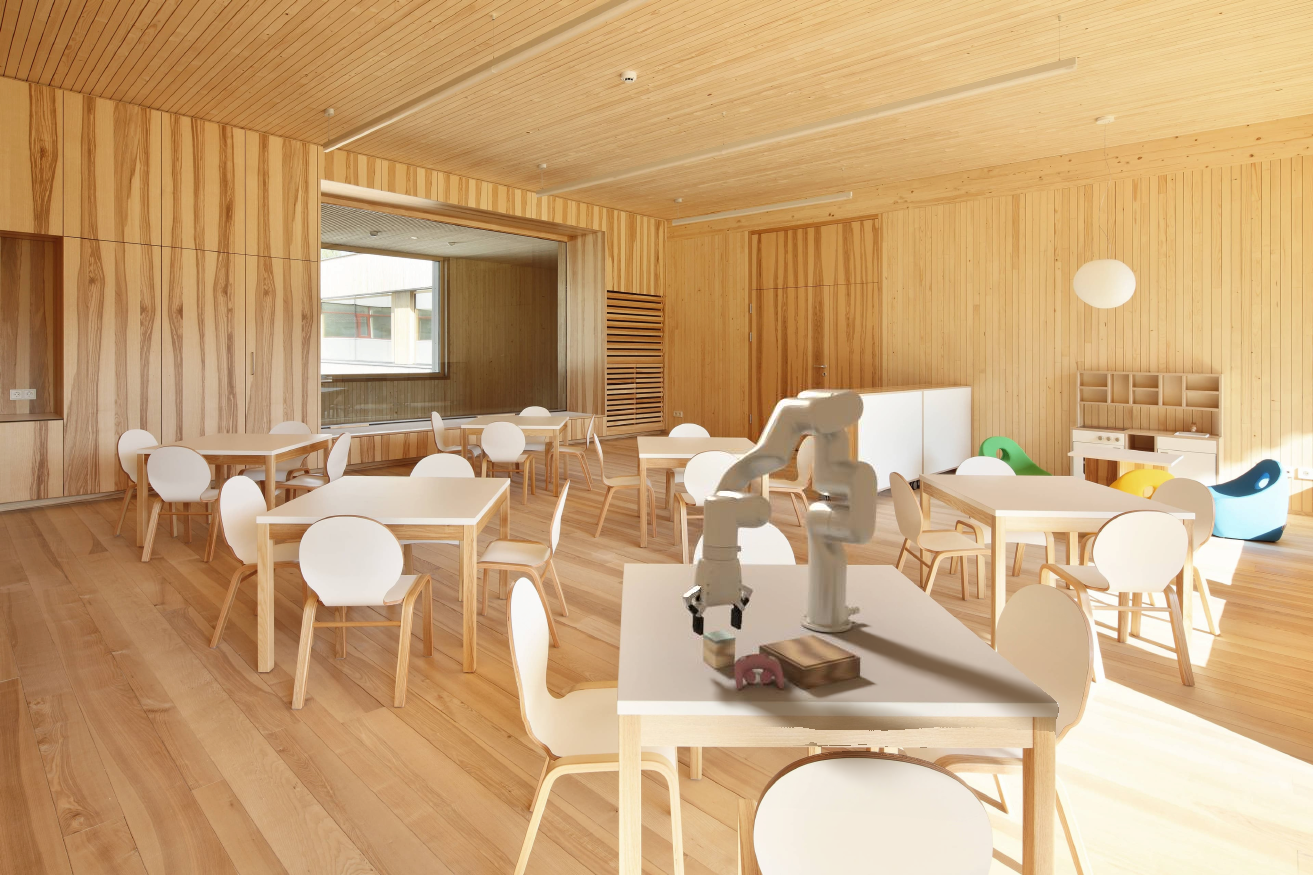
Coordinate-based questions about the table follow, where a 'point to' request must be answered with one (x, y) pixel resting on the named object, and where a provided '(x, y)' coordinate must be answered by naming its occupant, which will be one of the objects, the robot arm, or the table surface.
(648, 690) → the table surface
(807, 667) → the walnut plinth
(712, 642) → the maple block
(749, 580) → the table surface
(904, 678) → the table surface
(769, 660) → the video game controller
